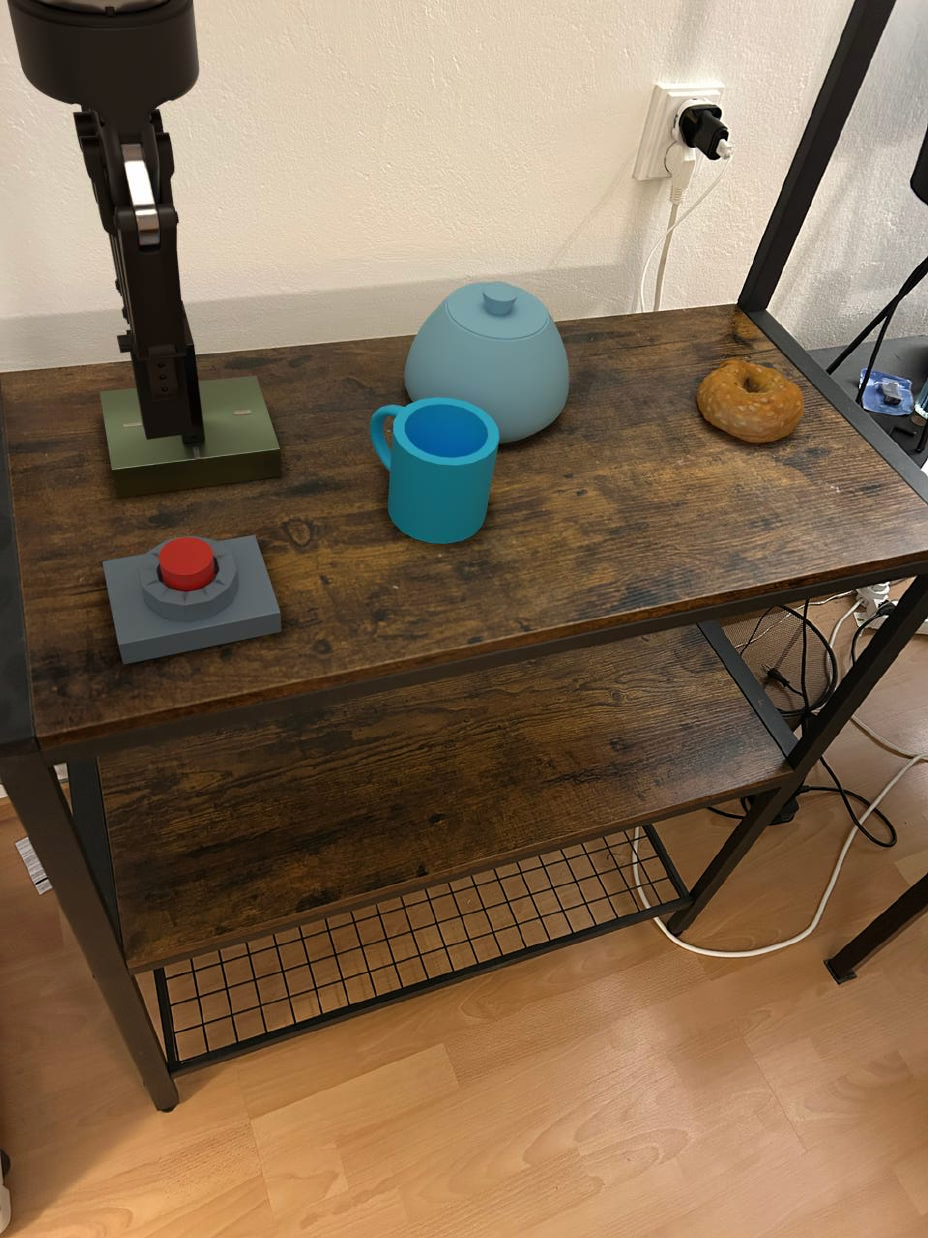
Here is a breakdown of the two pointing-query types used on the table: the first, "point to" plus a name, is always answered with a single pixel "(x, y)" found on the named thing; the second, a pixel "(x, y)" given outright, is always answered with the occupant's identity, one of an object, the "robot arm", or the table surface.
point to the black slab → (192, 389)
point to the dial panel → (227, 455)
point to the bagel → (750, 401)
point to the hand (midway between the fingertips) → (167, 428)
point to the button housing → (191, 602)
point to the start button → (187, 564)
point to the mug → (437, 467)
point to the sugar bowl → (492, 357)
